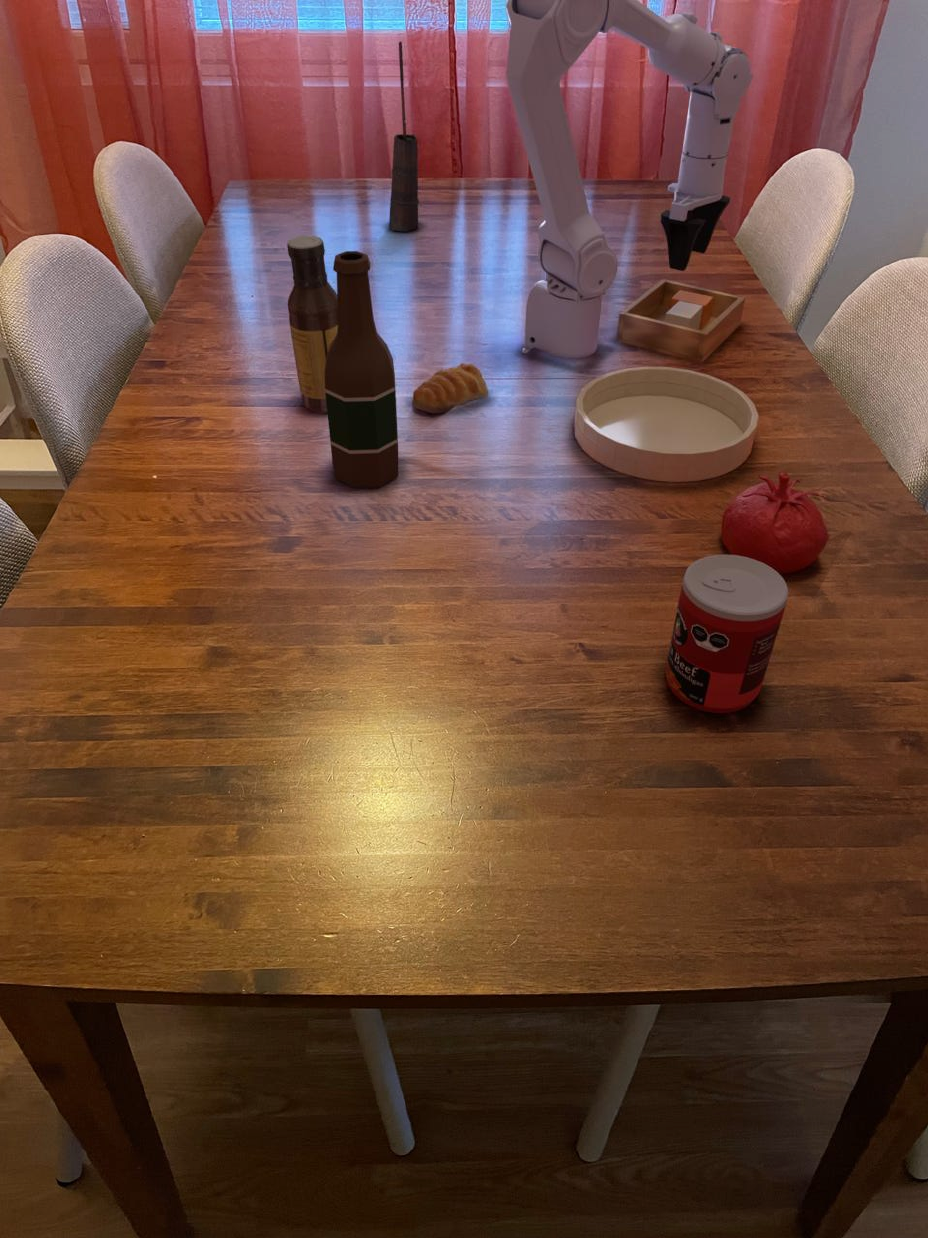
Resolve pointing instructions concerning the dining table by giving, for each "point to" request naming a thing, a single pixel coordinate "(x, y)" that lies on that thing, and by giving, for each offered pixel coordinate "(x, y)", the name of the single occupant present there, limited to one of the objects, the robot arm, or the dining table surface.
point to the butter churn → (404, 174)
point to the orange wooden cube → (695, 299)
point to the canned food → (724, 632)
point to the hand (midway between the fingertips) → (687, 259)
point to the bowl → (665, 423)
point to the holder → (652, 332)
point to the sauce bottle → (311, 318)
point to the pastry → (450, 389)
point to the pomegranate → (775, 525)
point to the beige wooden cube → (685, 315)
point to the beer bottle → (360, 384)
